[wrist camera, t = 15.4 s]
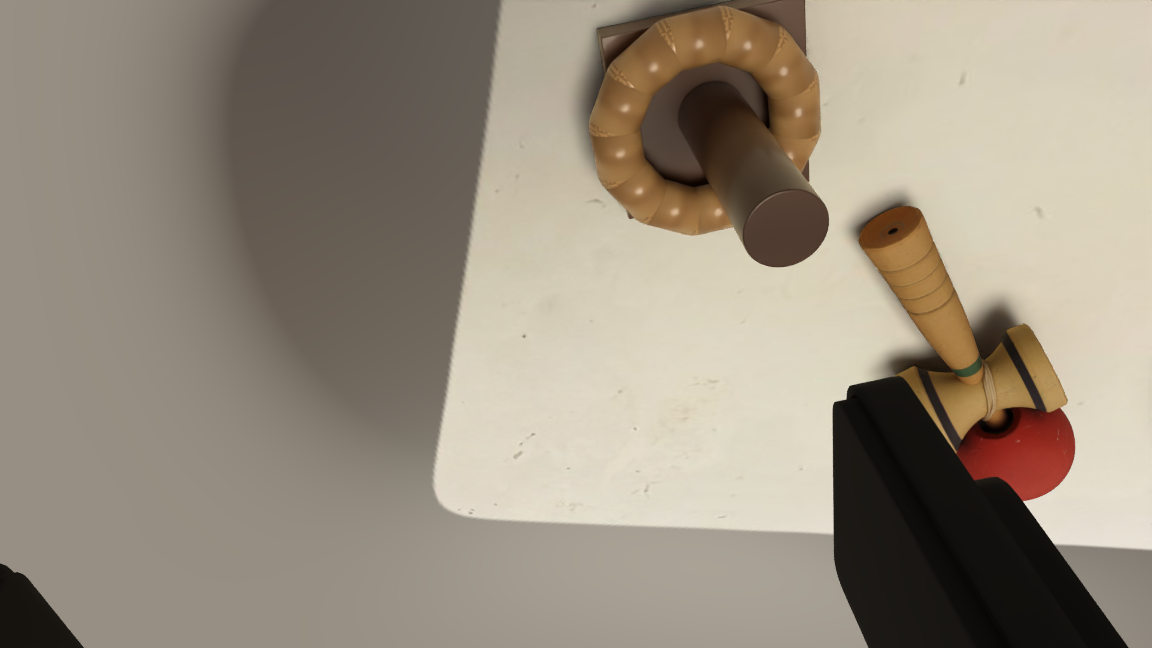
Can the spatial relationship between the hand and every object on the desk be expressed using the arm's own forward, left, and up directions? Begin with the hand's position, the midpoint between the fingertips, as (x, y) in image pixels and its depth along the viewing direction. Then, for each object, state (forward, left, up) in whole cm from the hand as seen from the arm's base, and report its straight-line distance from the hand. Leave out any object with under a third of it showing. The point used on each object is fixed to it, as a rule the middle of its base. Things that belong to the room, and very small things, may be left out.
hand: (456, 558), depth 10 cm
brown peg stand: (+7, +9, -28) cm, 30 cm away
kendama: (+22, +20, -28) cm, 41 cm away
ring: (+7, +9, -26) cm, 28 cm away
